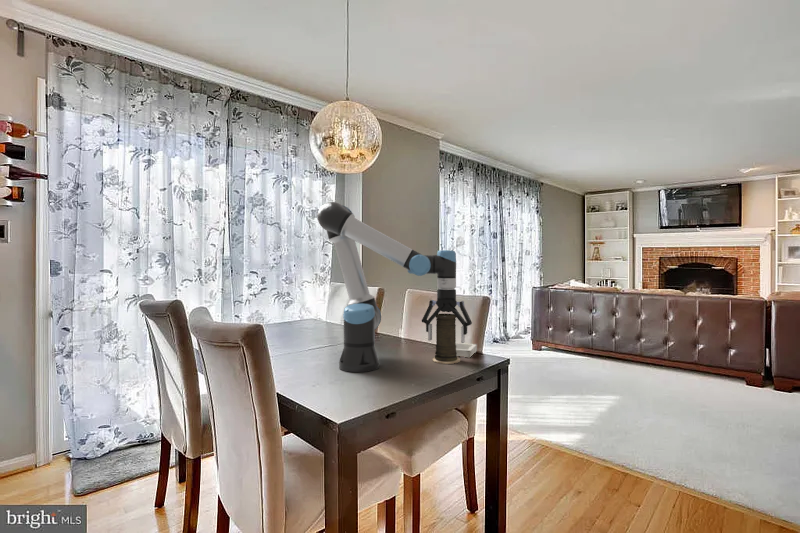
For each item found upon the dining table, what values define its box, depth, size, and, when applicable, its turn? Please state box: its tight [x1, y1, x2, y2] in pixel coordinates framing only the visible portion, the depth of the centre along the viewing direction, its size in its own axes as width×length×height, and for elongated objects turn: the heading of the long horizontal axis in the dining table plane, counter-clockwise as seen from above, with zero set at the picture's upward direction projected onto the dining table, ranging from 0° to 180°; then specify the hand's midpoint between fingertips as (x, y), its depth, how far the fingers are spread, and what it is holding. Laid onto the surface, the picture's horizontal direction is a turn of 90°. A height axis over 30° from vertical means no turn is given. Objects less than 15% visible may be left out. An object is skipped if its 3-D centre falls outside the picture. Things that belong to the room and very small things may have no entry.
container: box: [434, 313, 458, 362], centre depth 169 cm, size 9×9×18 cm
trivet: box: [432, 356, 461, 365], centre depth 169 cm, size 11×11×1 cm
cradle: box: [456, 342, 478, 358], centre depth 182 cm, size 11×14×3 cm
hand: (446, 341), depth 169 cm, fingers open, 13 cm apart
